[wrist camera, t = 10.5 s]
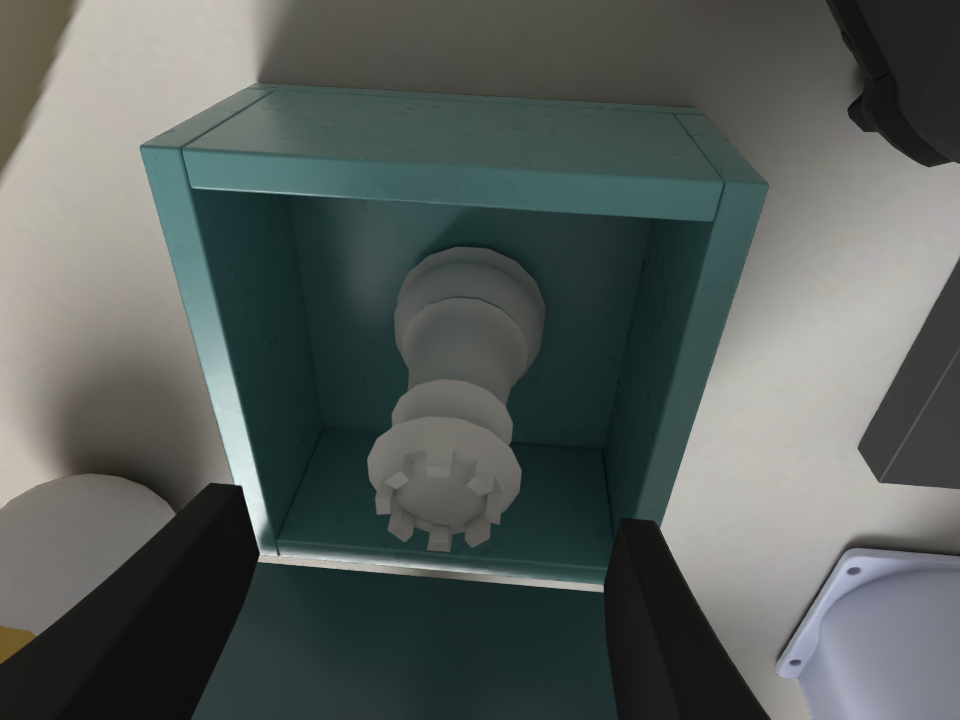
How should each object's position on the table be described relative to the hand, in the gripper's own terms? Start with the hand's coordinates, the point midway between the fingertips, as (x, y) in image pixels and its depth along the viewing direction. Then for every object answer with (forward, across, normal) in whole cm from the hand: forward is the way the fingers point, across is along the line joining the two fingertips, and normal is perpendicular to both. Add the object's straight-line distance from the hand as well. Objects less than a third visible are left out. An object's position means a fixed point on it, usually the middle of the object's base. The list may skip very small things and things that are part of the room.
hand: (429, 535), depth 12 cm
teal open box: (+9, 0, 0) cm, 9 cm away
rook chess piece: (+9, 0, 0) cm, 9 cm away
